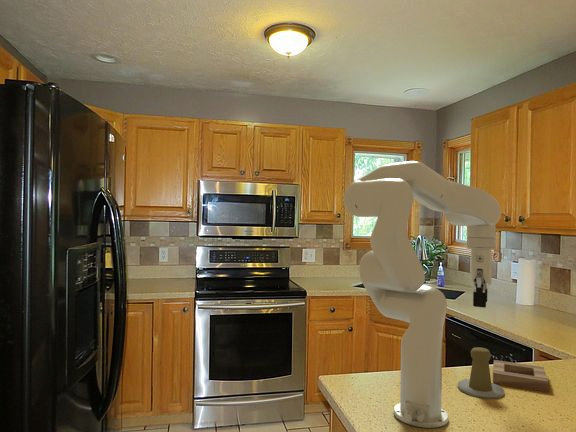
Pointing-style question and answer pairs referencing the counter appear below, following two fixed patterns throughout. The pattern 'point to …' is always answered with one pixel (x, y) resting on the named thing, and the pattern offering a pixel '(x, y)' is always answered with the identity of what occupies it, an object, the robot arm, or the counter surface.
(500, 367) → the frame
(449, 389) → the counter surface
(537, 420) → the counter surface
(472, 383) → the cork
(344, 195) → the robot arm
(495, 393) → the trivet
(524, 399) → the counter surface
